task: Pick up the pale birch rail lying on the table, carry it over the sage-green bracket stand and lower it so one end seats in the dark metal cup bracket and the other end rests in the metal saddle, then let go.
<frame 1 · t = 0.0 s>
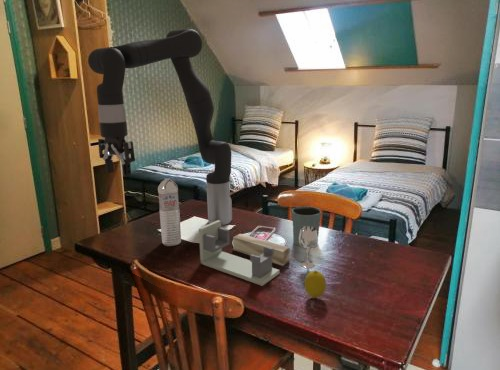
hand: (118, 174, 119), 29 cm above the table, fingers open, 8 cm apart
water bottle: (171, 243, 142), on the table
phone case: (260, 237, 147), on the table
wineglass: (307, 265, 124), on the table
bracket stand: (238, 268, 122), on the table
lemon: (314, 298, 105), on the table
rail: (260, 256, 131), on the table
grey plant pot: (305, 242, 141), on the table
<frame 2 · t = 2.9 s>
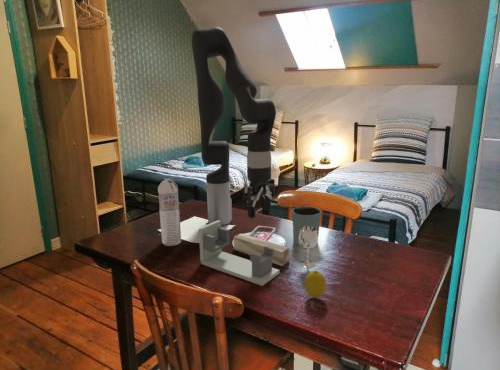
hand: (259, 213, 127), 15 cm above the table, fingers open, 8 cm apart
nothing on the table moved.
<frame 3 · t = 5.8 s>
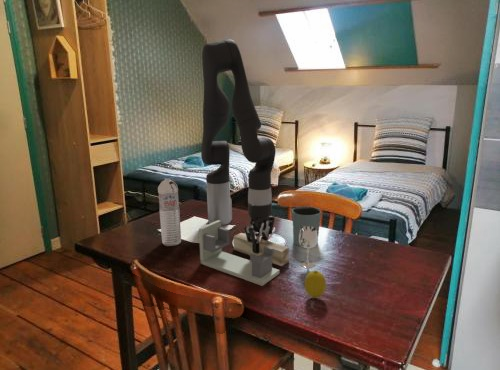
hand: (260, 250, 130), 2 cm above the table, fingers closed on rail, 4 cm apart
rail: (260, 255, 131), on the table, touching gripper
everything else where it was.
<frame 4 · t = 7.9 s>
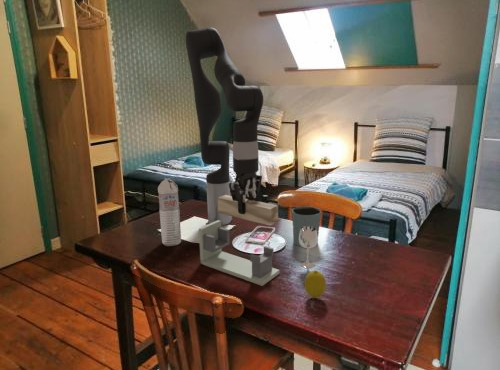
hand: (246, 211, 120), 18 cm above the table, fingers closed on rail, 4 cm apart
rail: (246, 217, 120), point 16 cm above the table, touching gripper
everything else where it was.
when the fingers open (9 cm above the table, at t = 10.4 s): rail drops 1 cm, resting on bracket stand.
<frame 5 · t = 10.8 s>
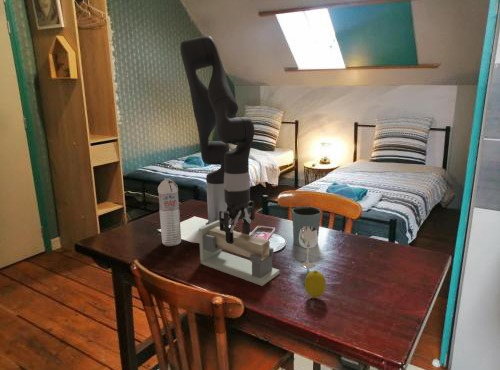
hand: (238, 238, 119), 10 cm above the table, fingers open, 7 cm apart
rail: (238, 250, 120), point 6 cm above the table, touching bracket stand
everything else where it was.
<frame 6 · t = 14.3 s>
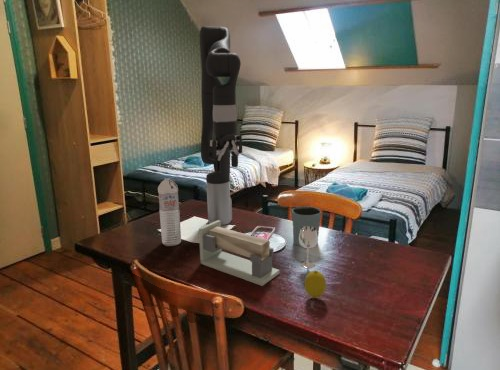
hand: (226, 169, 129), 28 cm above the table, fingers open, 8 cm apart
nothing on the table moved.
at the end: rail 0.1 cm off-centre on the bracket stand, point 6.0 cm above the bracket stand's base; rail tilted 0°; the gripper is holding nothing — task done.
